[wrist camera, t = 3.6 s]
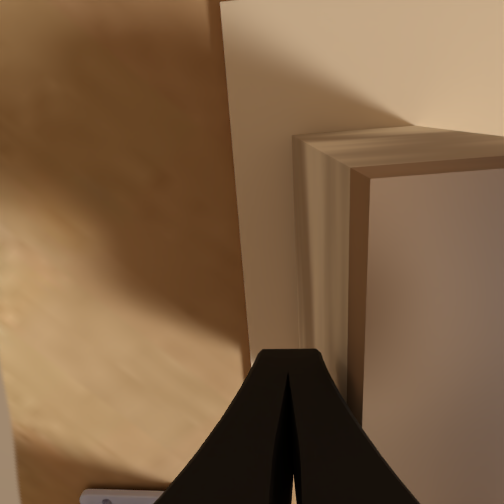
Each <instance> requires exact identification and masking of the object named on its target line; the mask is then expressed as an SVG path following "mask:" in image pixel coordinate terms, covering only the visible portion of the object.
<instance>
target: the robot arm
mask: <svg viewBox="0 0 504 504" xmlns="http://www.w3.org/2000/svg"><path fill="white" fill-rule="evenodd" d="M293 474H294V482H295V492H296V501H297V504H420V503H419V501H418V500H417V499H416V498H415V497H414V495H413V494H412V493H411V492H410V491H409V489H408V488H407V487H406V486H405V485H404V483H403V482H402V481H401V480H400V479H399V477H398V476H397V475H396V474H395V472H394V471H393V470H392V468H391V467H390V466H389V465H388V463H387V462H386V461H385V459H384V458H383V457H382V455H381V454H380V453H379V451H378V450H377V448H376V447H375V446H374V444H373V443H372V441H371V440H370V439H369V437H368V436H367V434H366V433H365V431H364V430H363V429H362V427H361V426H360V424H359V423H358V421H357V420H356V418H355V416H354V415H353V413H352V412H351V410H350V408H349V407H348V405H347V404H346V402H345V400H344V399H343V397H342V395H341V394H340V392H339V390H338V388H337V387H336V385H335V383H334V381H333V379H332V377H331V375H330V373H329V371H328V369H327V367H326V365H325V362H324V360H323V357H322V354H321V352H320V351H318V350H317V349H316V348H311V349H262V350H261V351H260V352H259V353H258V354H257V357H256V359H255V361H254V363H253V365H252V367H251V369H250V371H249V373H248V375H247V377H246V379H245V381H244V382H243V384H242V386H241V388H240V389H239V391H238V393H237V394H236V396H235V397H234V399H233V401H232V402H231V404H230V405H229V407H228V409H227V410H226V412H225V413H224V415H223V416H222V418H221V419H220V421H219V422H218V424H217V425H216V426H215V428H214V429H213V431H212V432H211V433H210V435H209V436H208V437H207V439H206V440H205V442H204V443H203V444H202V446H201V447H200V449H199V450H198V451H197V453H196V454H195V455H194V456H193V458H192V459H191V460H190V461H189V463H188V464H187V465H186V466H185V468H184V469H183V470H182V471H181V473H180V474H179V475H178V476H177V477H176V478H175V480H174V481H173V482H172V483H171V484H170V485H169V487H168V488H167V489H166V490H165V491H148V490H116V489H86V490H84V491H83V493H82V494H81V496H80V498H79V500H80V504H291V501H292V487H293Z"/></svg>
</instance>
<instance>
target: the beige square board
mask: <svg viewBox="0 0 504 504" xmlns="http://www.w3.org/2000/svg"><path fill="white" fill-rule="evenodd" d="M220 10H221V22H222V33H223V45H224V57H225V68H226V80H227V91H228V103H229V115H230V126H231V138H232V149H233V161H234V173H235V184H236V196H237V207H238V219H239V231H240V242H241V254H242V265H243V277H244V289H245V300H246V312H247V323H248V335H249V347H250V358H251V367H252V365H253V363H254V361H255V359H256V357H257V354H258V353H259V352H260V351H261V350H262V349H299V332H298V303H297V274H296V246H295V217H294V188H293V159H292V135H300V134H313V133H326V132H338V131H351V130H364V129H377V128H390V127H403V126H422V127H430V128H439V129H447V130H455V131H464V132H472V133H480V134H489V135H497V136H504V0H234V1H224V2H220Z"/></svg>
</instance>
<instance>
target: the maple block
mask: <svg viewBox="0 0 504 504" xmlns="http://www.w3.org/2000/svg"><path fill="white" fill-rule="evenodd" d="M292 159H293V188H294V217H295V246H296V274H297V303H298V332H299V349H311V348H316V349H317V350H318V351H320V352H321V354H322V357H323V360H324V362H325V365H326V367H327V369H328V371H329V373H330V375H331V377H332V379H333V381H334V383H335V385H336V387H337V388H338V390H339V392H340V394H341V395H342V397H343V399H344V400H345V402H346V404H347V405H348V407H349V408H350V410H351V412H352V413H353V415H354V416H355V418H356V420H357V421H358V423H359V424H360V426H361V427H362V429H363V430H364V431H365V433H366V434H367V436H368V437H369V439H370V440H371V441H372V443H373V444H374V446H375V447H376V448H377V450H378V451H379V453H380V454H381V455H382V457H383V458H384V459H385V461H386V462H387V463H388V465H389V466H390V467H391V468H392V470H393V471H394V472H395V474H396V475H397V476H398V477H399V479H400V480H401V481H402V482H403V483H404V485H405V486H406V487H407V488H408V489H409V491H410V492H411V493H412V494H413V495H414V497H415V498H416V499H417V500H418V501H419V503H420V504H504V136H497V135H489V134H480V133H472V132H464V131H455V130H447V129H439V128H430V127H422V126H403V127H390V128H377V129H364V130H351V131H338V132H326V133H313V134H300V135H292Z"/></svg>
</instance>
